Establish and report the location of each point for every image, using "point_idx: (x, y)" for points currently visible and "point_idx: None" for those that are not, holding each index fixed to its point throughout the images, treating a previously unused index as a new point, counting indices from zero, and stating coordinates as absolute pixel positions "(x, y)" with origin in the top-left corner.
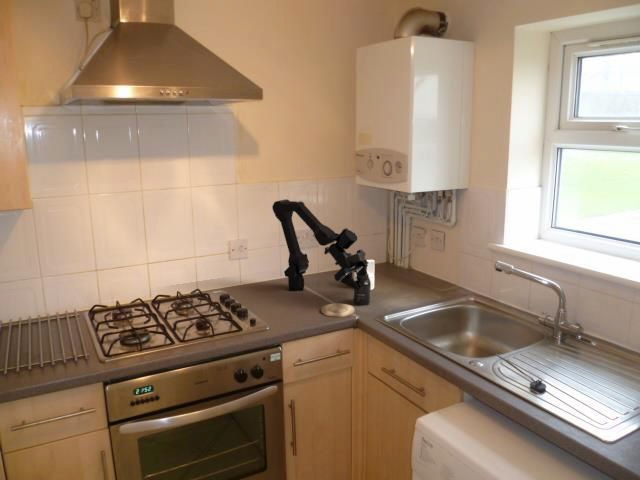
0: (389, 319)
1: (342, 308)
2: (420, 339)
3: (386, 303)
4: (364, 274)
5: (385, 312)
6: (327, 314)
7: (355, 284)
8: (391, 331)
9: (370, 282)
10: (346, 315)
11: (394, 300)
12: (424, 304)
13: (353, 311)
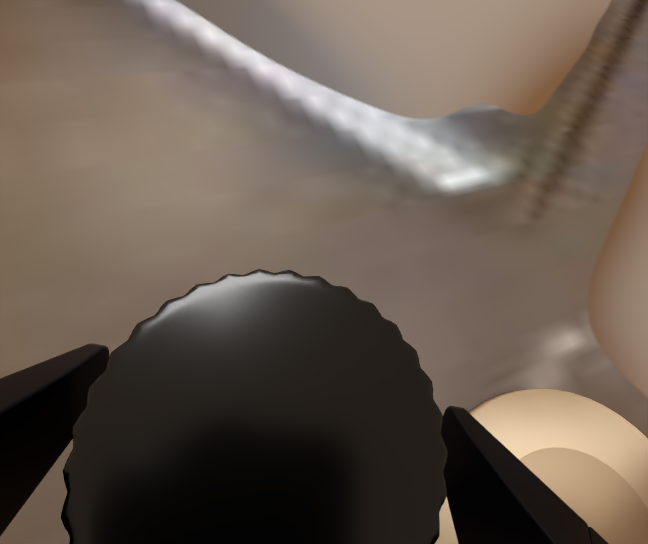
0: (482, 158)
1: None
2: (596, 28)
3: (213, 231)
4: (245, 382)
5: (391, 199)
6: None
7: (532, 474)
8: (609, 125)
9: (91, 345)
10: (617, 418)
11: (122, 194)
12: (156, 34)
13: (540, 391)
